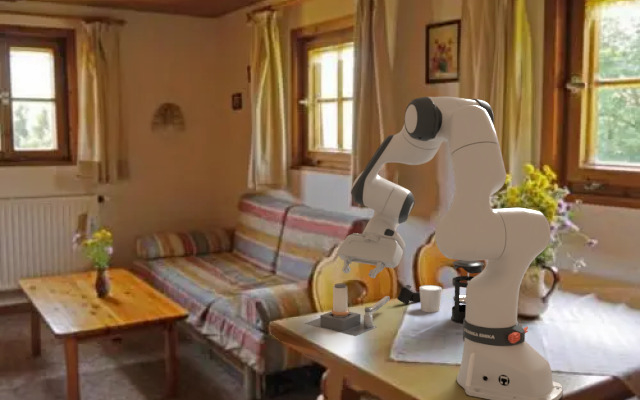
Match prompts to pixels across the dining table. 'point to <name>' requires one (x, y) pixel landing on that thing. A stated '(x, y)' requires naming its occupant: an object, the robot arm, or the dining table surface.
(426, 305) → the white cup
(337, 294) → the plug
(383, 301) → the ball-tipped lever
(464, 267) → the french press
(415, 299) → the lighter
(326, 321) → the socket block
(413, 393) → the dining table surface
